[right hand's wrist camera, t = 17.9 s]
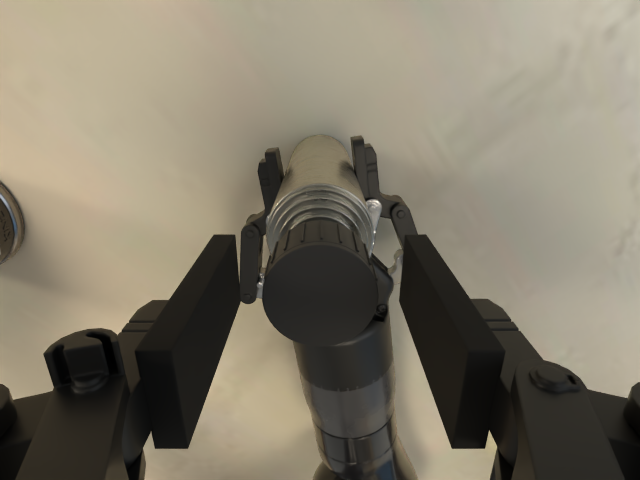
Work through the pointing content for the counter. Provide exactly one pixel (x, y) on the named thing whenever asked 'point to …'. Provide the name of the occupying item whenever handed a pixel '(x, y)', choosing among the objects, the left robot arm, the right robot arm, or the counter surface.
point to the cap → (320, 284)
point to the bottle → (320, 192)
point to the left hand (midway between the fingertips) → (313, 145)
